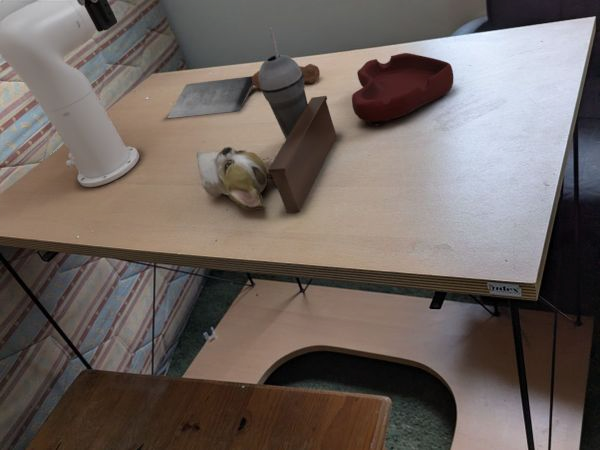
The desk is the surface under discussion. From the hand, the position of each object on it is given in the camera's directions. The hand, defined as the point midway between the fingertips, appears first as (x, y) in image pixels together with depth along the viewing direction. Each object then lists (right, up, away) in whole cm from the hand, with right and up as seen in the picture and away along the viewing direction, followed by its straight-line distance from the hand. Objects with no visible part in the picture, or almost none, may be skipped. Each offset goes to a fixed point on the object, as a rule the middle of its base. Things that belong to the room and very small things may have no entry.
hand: (108, 27), depth 83 cm
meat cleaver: (+16, -3, +35) cm, 39 cm away
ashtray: (+47, -8, +13) cm, 49 cm away
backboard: (+31, -21, +3) cm, 38 cm away
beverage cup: (+29, -16, +12) cm, 35 cm away
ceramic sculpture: (+21, -25, +4) cm, 33 cm away
